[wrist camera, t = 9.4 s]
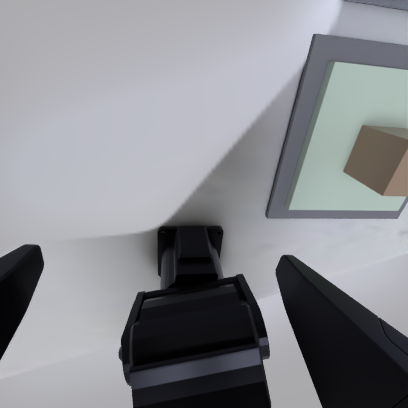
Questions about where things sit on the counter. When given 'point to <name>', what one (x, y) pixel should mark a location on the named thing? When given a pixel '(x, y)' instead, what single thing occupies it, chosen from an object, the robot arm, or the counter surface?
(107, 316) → the counter surface
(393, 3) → the dish
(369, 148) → the lid
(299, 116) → the mat
